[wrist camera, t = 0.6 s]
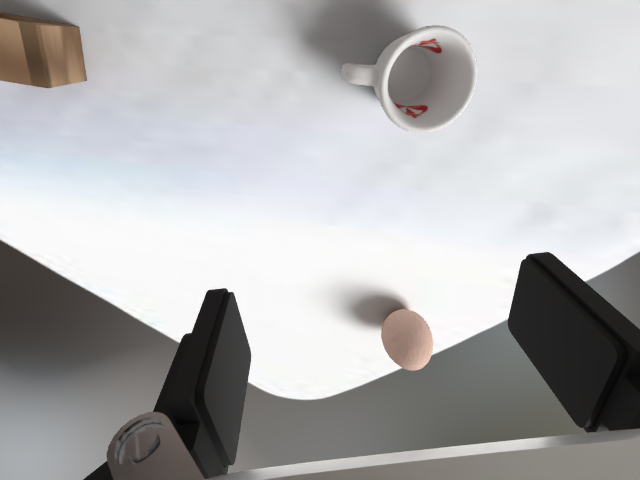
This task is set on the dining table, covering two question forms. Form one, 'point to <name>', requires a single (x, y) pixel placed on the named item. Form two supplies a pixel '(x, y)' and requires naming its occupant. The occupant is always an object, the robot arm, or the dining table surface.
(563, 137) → the dining table surface
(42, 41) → the cardboard box
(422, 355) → the egg
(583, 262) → the dining table surface
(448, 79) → the cup
